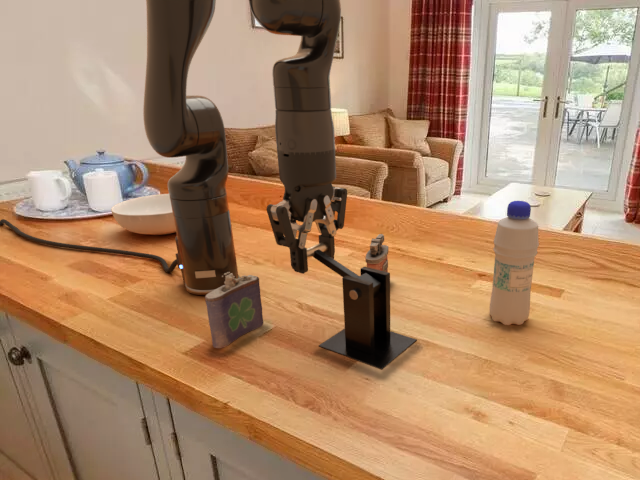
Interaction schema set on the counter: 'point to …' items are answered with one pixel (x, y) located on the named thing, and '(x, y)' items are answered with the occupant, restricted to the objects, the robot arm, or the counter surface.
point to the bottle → (514, 264)
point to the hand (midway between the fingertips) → (314, 265)
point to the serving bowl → (146, 215)
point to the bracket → (368, 323)
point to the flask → (234, 309)
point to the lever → (339, 265)
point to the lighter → (378, 254)
